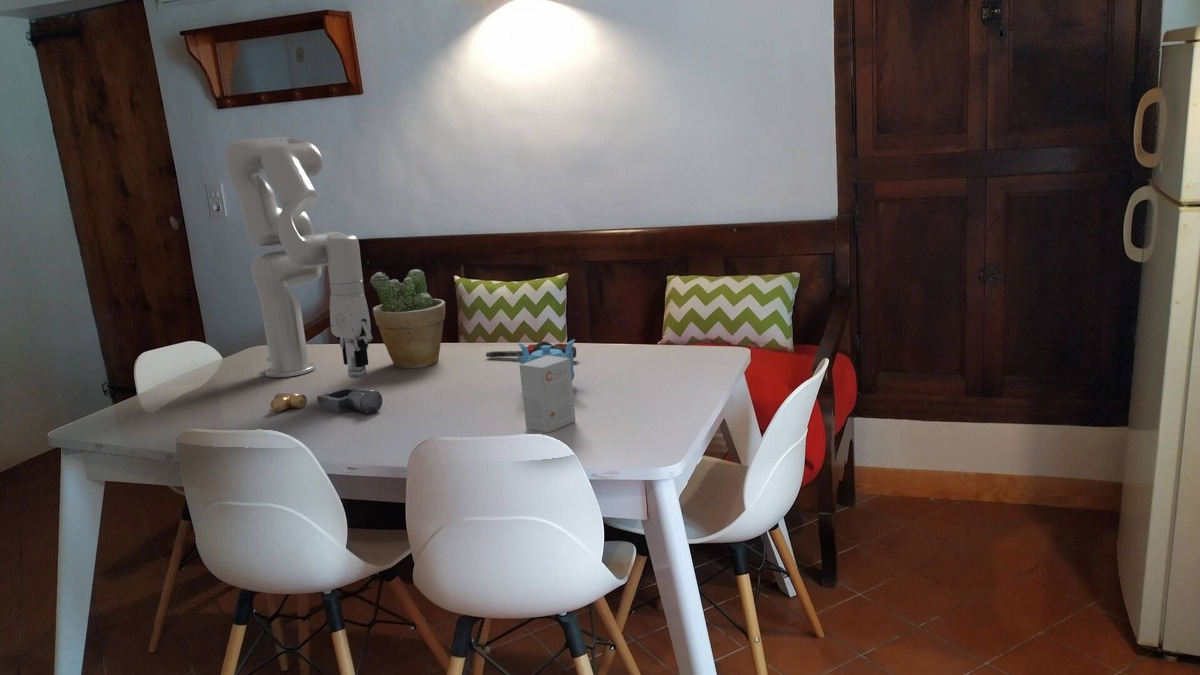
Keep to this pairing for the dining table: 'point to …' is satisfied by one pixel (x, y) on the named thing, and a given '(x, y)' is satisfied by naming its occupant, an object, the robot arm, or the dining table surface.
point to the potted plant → (409, 319)
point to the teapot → (548, 354)
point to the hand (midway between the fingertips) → (356, 363)
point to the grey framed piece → (350, 401)
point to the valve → (530, 350)
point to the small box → (547, 393)
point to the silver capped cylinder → (353, 360)
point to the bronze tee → (287, 401)
